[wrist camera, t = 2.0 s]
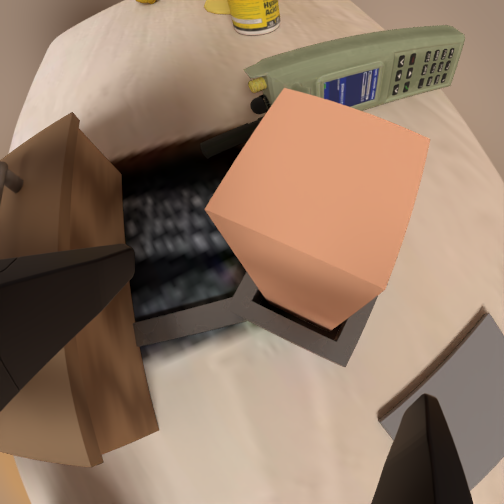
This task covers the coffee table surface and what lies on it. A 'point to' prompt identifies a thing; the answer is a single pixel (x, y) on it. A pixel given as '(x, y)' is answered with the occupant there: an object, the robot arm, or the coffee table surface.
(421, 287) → the coffee table surface
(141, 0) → the lemon
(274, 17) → the supplement bottle
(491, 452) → the charcoal mat
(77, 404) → the walnut toolbox
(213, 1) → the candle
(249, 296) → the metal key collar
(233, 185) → the salmon orange rectangular block
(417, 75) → the handheld radio
